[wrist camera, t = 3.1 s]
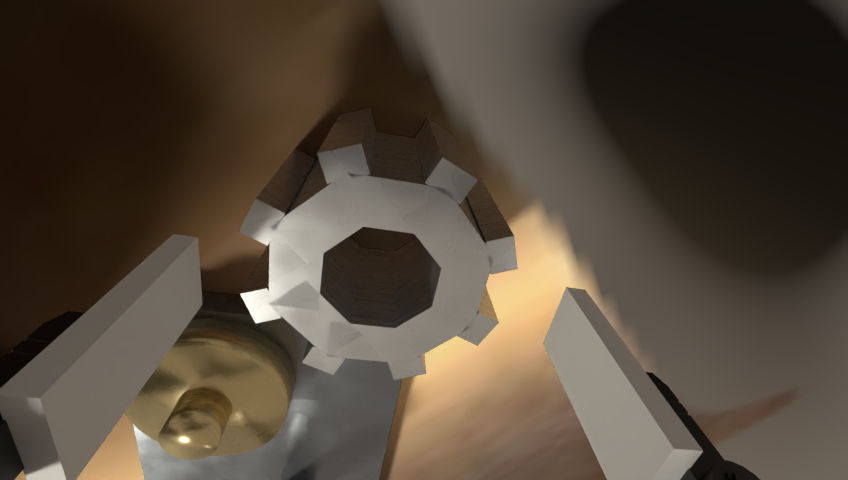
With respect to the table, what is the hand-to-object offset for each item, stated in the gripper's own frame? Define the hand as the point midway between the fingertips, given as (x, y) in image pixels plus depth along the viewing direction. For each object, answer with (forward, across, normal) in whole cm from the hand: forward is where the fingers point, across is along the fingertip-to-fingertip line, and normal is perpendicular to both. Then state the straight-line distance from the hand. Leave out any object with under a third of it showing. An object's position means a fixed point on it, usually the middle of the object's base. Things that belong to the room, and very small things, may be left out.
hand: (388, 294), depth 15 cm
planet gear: (+6, 0, 0) cm, 6 cm away
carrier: (+7, -5, -16) cm, 19 cm away
